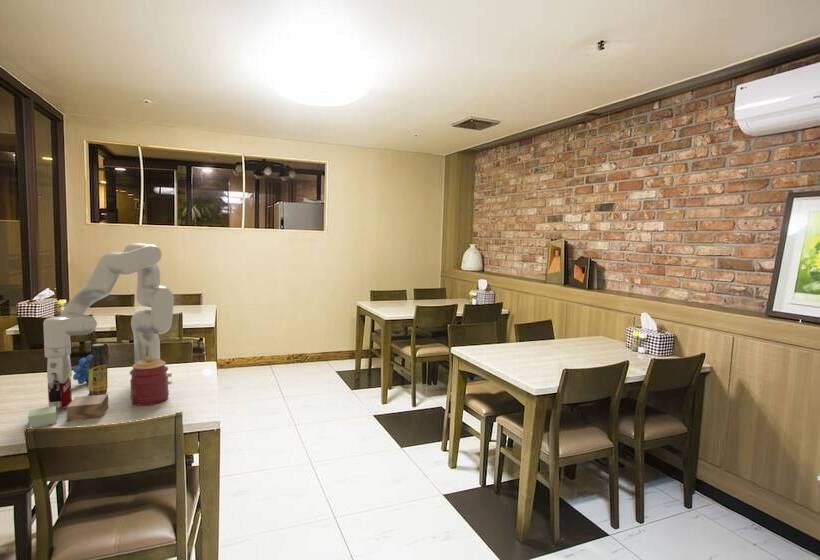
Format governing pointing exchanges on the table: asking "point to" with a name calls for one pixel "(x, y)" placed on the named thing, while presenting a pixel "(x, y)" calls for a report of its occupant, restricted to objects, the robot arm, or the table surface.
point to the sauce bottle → (98, 371)
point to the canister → (149, 381)
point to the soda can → (63, 395)
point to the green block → (42, 416)
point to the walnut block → (87, 407)
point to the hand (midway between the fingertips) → (59, 397)
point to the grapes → (82, 370)
